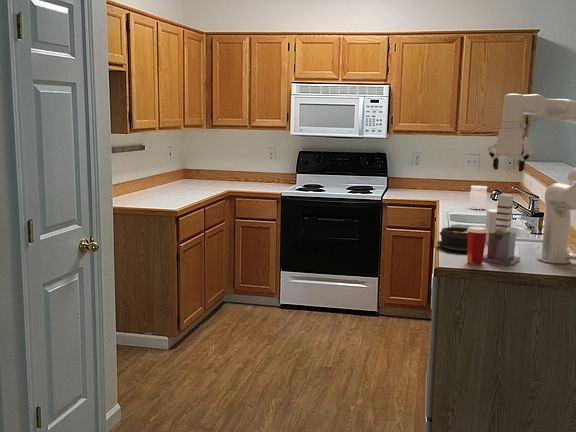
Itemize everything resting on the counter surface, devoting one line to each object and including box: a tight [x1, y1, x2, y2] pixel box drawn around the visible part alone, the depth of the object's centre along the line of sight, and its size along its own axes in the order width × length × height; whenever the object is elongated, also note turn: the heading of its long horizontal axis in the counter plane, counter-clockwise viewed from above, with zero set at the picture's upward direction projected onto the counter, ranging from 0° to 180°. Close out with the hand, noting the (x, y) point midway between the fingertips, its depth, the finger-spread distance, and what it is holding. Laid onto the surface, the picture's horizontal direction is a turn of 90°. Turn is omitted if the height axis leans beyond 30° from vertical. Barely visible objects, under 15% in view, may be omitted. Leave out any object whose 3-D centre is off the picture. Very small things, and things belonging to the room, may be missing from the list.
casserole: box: [436, 226, 469, 252], centre depth 273 cm, size 25×19×8 cm
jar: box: [469, 184, 488, 211], centre depth 403 cm, size 11×10×15 cm
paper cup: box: [466, 226, 487, 266], centre depth 245 cm, size 8×8×14 cm
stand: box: [482, 231, 521, 267], centre depth 251 cm, size 12×12×12 cm
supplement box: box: [485, 209, 497, 245], centre depth 290 cm, size 9×9×15 cm
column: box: [495, 193, 514, 235], centre depth 249 cm, size 4×4×18 cm
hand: (508, 170), depth 247 cm, fingers open, 9 cm apart
